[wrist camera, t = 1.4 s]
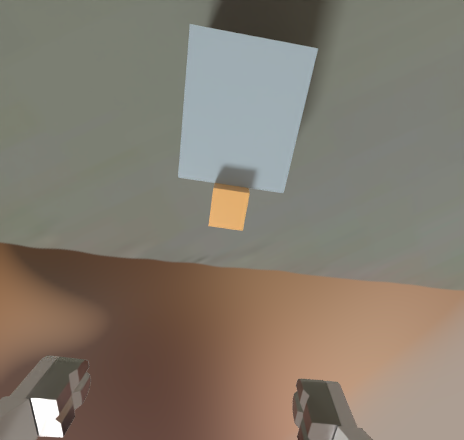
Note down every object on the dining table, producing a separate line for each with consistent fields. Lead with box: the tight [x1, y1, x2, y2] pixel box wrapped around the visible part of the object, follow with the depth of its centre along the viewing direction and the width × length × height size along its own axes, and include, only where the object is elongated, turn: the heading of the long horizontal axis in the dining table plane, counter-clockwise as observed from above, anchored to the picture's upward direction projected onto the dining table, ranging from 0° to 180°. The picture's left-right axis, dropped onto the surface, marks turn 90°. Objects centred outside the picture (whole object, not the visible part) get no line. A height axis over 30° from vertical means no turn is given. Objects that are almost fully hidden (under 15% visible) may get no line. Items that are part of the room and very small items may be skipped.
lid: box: [178, 24, 318, 231], centre depth 25 cm, size 17×11×4 cm, turn 171°
